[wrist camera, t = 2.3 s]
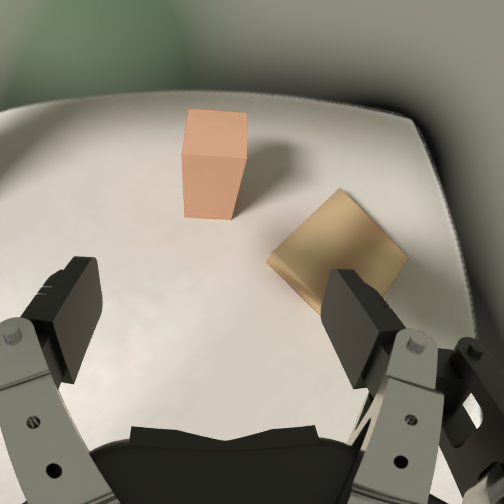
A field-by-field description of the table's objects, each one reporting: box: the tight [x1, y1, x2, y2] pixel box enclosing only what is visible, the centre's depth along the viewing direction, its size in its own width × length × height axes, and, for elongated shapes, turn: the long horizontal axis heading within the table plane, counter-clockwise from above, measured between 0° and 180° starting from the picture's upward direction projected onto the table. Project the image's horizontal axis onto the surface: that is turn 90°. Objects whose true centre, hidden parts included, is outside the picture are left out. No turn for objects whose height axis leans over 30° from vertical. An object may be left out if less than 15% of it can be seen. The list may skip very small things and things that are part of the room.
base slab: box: [266, 188, 409, 316], centre depth 27 cm, size 9×9×3 cm
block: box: [182, 109, 247, 220], centre depth 23 cm, size 4×4×9 cm
